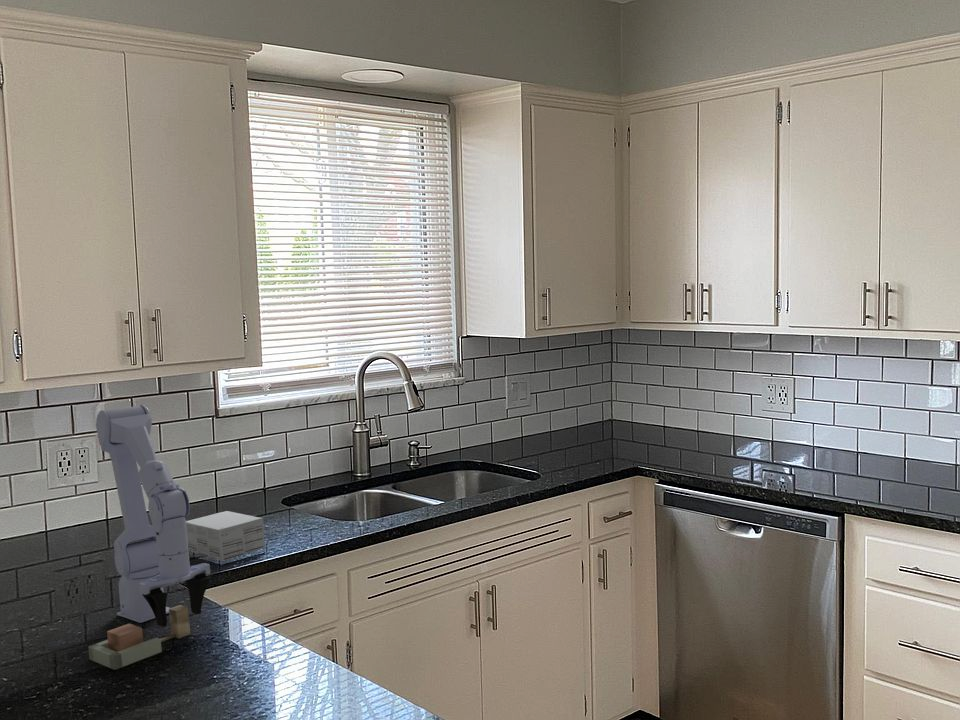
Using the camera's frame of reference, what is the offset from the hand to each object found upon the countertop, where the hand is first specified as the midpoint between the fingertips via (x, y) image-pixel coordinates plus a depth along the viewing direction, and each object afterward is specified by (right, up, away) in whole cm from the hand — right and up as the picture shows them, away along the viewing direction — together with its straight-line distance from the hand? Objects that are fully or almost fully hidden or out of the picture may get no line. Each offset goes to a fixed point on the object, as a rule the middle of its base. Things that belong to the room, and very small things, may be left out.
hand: (179, 619), depth 184 cm
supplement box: (-6, +1, +56) cm, 56 cm away
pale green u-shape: (-8, -4, -9) cm, 12 cm away
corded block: (-4, -4, -4) cm, 7 cm away
